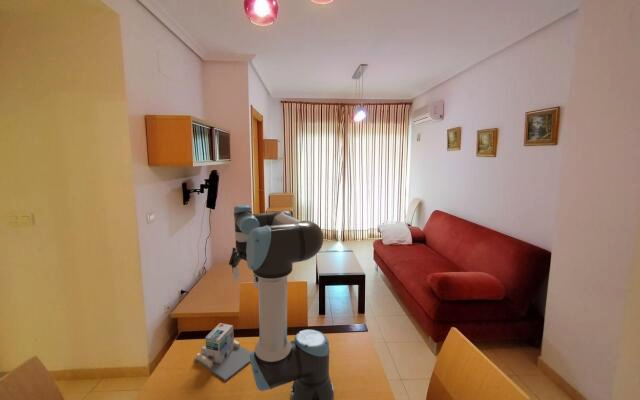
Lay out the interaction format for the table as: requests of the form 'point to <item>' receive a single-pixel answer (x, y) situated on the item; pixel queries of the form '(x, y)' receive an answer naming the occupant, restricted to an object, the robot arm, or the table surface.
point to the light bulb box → (220, 343)
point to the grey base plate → (226, 362)
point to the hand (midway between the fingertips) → (246, 283)
